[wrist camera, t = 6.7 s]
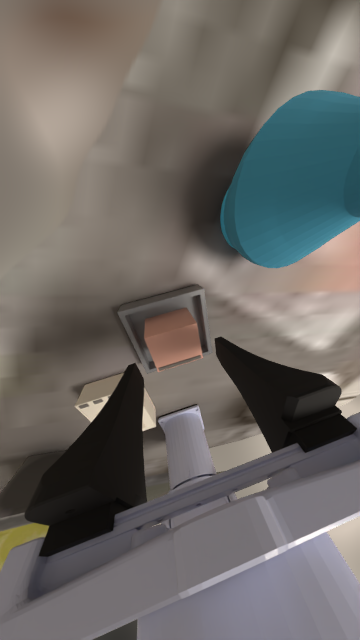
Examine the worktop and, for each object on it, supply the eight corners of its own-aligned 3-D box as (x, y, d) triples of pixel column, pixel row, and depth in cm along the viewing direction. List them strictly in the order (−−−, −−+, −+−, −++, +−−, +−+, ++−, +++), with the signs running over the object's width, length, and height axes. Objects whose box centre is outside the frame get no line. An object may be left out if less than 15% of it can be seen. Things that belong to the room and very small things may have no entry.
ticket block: (155, 407, 24) (156, 427, 22) (116, 420, 24) (111, 442, 21) (134, 369, 20) (132, 388, 17) (84, 384, 19) (74, 407, 16)
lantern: (61, 414, 33) (60, 525, 35) (-24, 523, 16) (-16, 719, 18) (97, 410, 34) (94, 516, 37) (54, 505, 18) (53, 685, 20)
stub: (192, 337, 18) (203, 358, 15) (156, 348, 18) (158, 372, 14) (186, 307, 16) (197, 323, 13) (145, 319, 16) (144, 339, 12)
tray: (206, 344, 20) (212, 352, 18) (147, 362, 19) (146, 373, 18) (197, 284, 16) (204, 288, 14) (120, 305, 15) (117, 312, 13)
